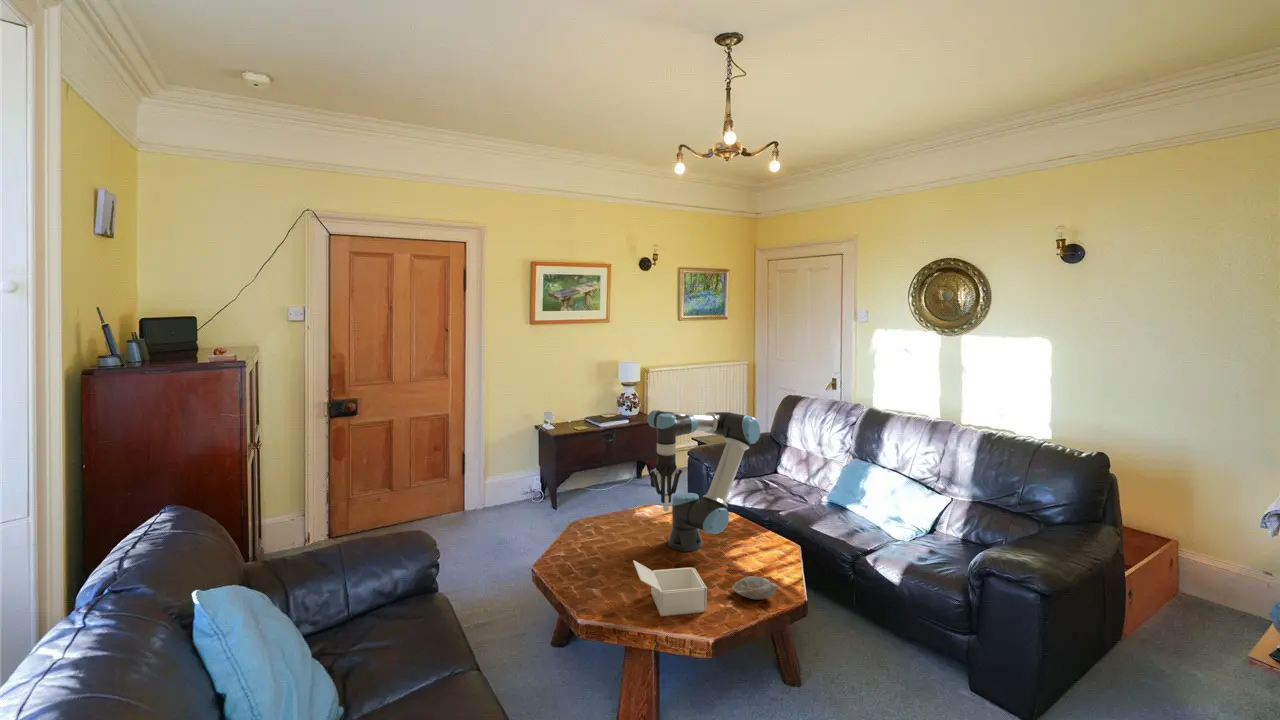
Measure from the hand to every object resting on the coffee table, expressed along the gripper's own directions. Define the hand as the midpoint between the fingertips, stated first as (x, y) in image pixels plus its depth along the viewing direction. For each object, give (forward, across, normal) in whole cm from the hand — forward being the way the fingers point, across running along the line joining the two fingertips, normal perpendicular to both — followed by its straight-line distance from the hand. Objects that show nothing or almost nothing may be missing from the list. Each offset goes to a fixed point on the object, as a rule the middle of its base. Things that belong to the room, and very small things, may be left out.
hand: (665, 510), depth 239 cm
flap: (+14, +13, +24) cm, 31 cm away
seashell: (+27, -28, +25) cm, 46 cm away
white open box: (+26, +1, +24) cm, 35 cm away
